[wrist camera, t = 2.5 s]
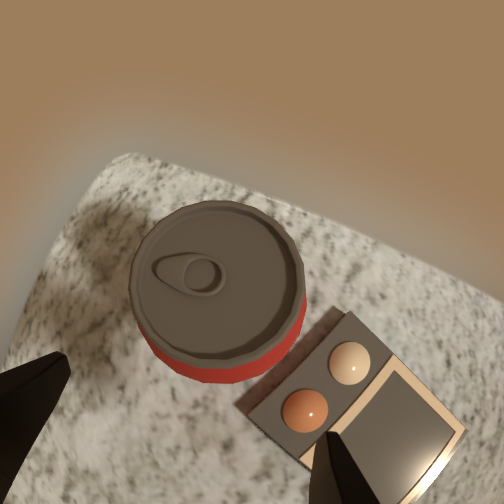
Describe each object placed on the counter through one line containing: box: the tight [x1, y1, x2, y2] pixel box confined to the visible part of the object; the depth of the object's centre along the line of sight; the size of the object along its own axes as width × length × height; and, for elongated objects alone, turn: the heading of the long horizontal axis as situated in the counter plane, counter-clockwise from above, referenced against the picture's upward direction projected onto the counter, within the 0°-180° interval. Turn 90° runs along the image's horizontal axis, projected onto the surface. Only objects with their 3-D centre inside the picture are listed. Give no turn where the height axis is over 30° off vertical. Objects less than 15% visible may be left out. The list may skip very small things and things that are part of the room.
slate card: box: [247, 311, 468, 504], centre depth 16 cm, size 10×16×1 cm, turn 44°
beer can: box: [128, 201, 307, 384], centre depth 14 cm, size 7×7×12 cm
